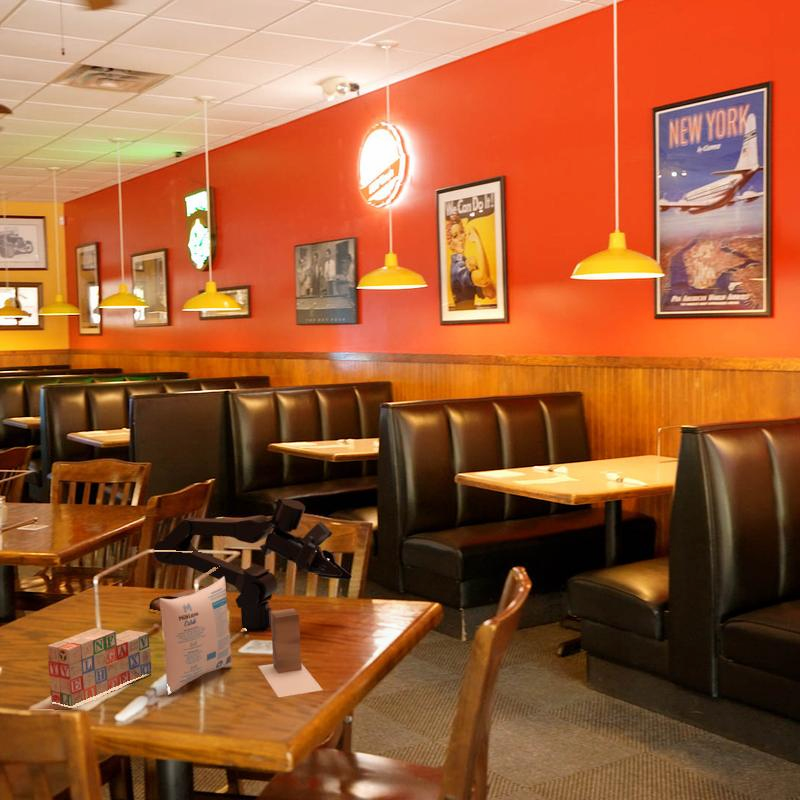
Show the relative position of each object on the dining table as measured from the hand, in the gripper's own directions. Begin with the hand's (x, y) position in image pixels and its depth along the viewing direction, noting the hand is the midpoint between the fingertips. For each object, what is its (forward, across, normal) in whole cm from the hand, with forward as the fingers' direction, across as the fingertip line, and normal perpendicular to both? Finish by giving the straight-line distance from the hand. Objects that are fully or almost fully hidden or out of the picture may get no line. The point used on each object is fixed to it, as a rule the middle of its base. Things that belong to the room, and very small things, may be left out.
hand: (346, 576), depth 234 cm
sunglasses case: (-42, +26, +28) cm, 57 cm away
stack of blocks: (-27, -31, +43) cm, 59 cm away
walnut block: (+2, -18, +22) cm, 29 cm away
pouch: (-11, -25, +32) cm, 43 cm away
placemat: (+5, -23, +23) cm, 33 cm away
